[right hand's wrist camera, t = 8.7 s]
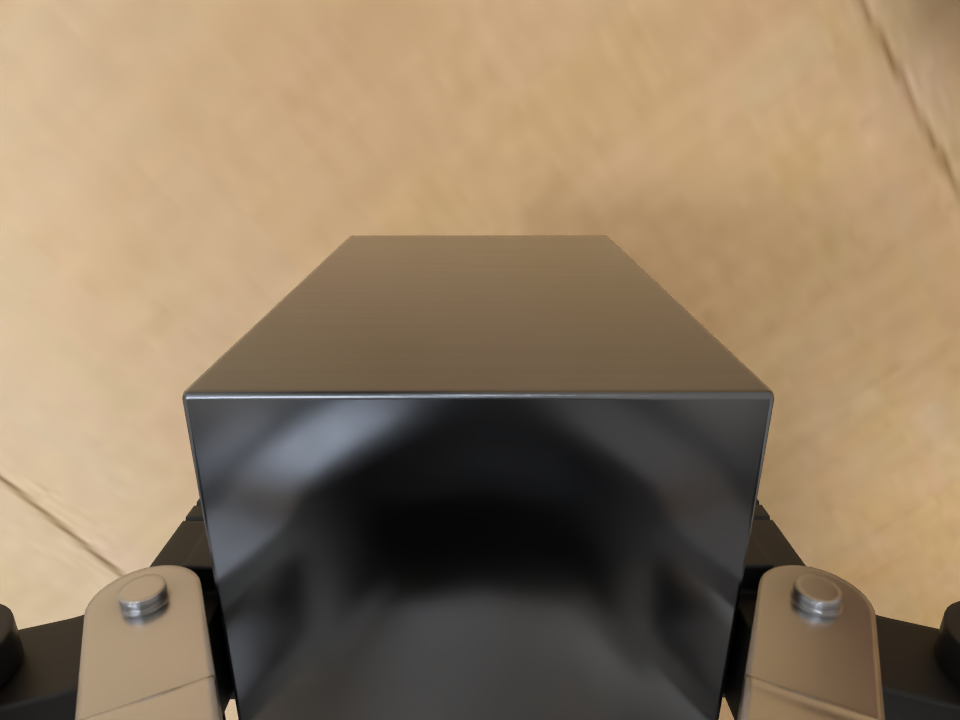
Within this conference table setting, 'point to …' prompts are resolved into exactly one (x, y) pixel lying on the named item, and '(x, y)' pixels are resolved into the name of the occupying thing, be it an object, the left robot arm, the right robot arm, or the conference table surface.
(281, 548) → the box
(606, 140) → the conference table surface
